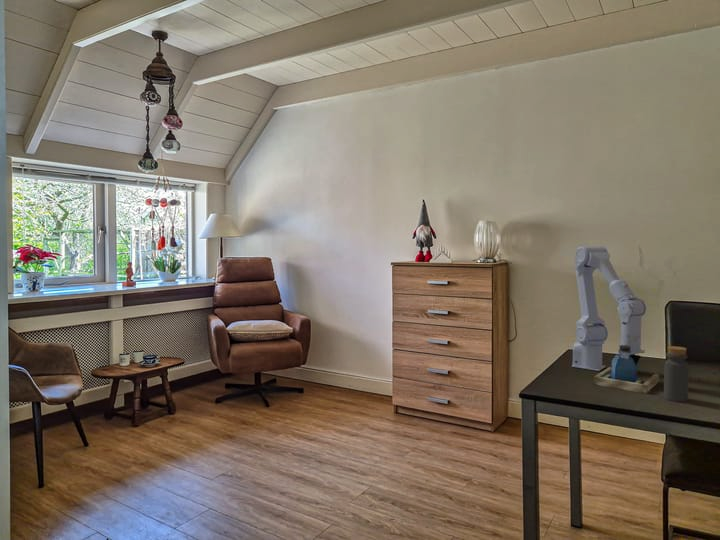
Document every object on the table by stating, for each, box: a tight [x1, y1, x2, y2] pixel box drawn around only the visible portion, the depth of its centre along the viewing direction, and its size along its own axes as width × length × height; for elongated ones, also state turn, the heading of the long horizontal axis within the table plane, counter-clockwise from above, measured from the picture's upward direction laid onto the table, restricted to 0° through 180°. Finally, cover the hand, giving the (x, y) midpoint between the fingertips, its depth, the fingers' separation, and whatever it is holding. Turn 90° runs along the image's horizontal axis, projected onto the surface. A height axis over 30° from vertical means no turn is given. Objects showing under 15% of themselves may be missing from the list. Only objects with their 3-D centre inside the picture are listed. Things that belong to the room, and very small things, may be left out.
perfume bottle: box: [610, 344, 638, 383], centre depth 159 cm, size 6×6×12 cm
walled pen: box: [593, 366, 660, 394], centre depth 160 cm, size 15×17×2 cm
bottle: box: [663, 345, 690, 403], centre depth 143 cm, size 6×6×15 cm
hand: (630, 376), depth 163 cm, fingers closed, pressing on perfume bottle
